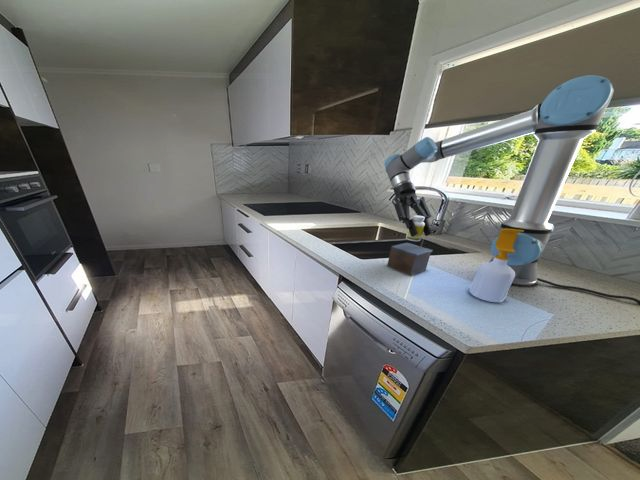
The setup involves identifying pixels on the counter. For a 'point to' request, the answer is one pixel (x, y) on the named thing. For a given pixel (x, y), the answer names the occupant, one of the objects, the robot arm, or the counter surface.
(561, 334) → the counter surface
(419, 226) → the supplement bottle
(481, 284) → the soap bottle
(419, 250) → the box lid
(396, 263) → the box
